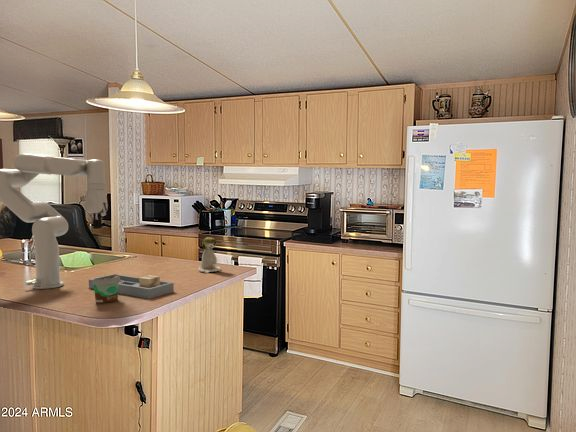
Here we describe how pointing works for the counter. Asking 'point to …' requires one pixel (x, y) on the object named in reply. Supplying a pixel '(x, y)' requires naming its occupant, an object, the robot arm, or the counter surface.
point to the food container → (106, 289)
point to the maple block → (149, 281)
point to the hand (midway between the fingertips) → (97, 228)
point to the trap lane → (132, 288)
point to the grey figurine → (209, 256)
